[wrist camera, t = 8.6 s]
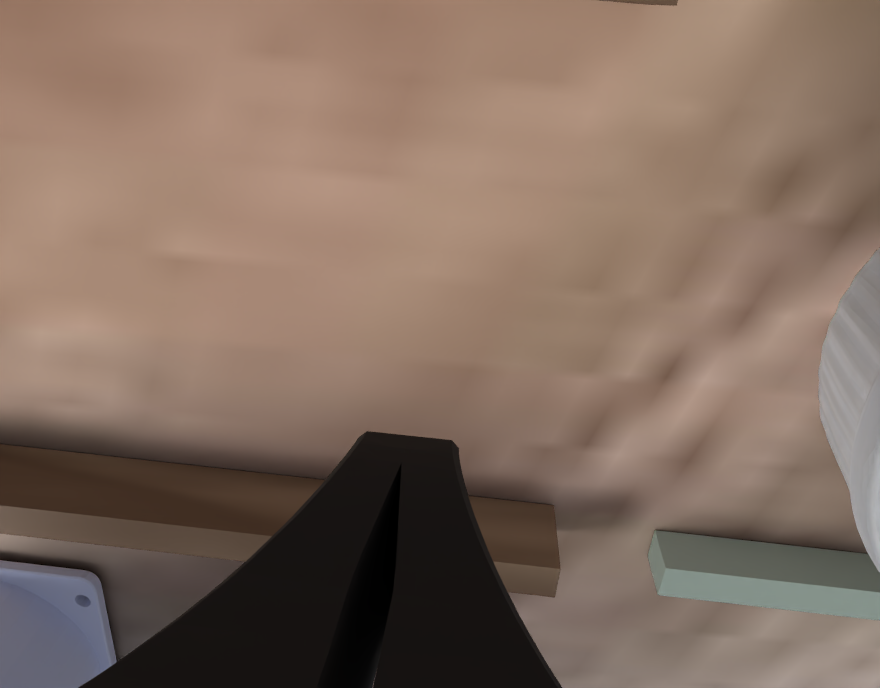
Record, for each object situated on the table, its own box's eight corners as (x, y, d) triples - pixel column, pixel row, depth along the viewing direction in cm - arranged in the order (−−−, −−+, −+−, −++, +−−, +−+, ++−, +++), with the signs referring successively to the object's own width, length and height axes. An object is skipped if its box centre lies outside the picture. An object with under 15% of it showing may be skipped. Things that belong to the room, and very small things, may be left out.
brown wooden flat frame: (548, 531, 20) (554, 597, 18) (-191, 449, 21) (-272, 501, 19) (659, -52, 14) (690, -63, 11) (-432, -140, 14) (-602, -165, 12)
